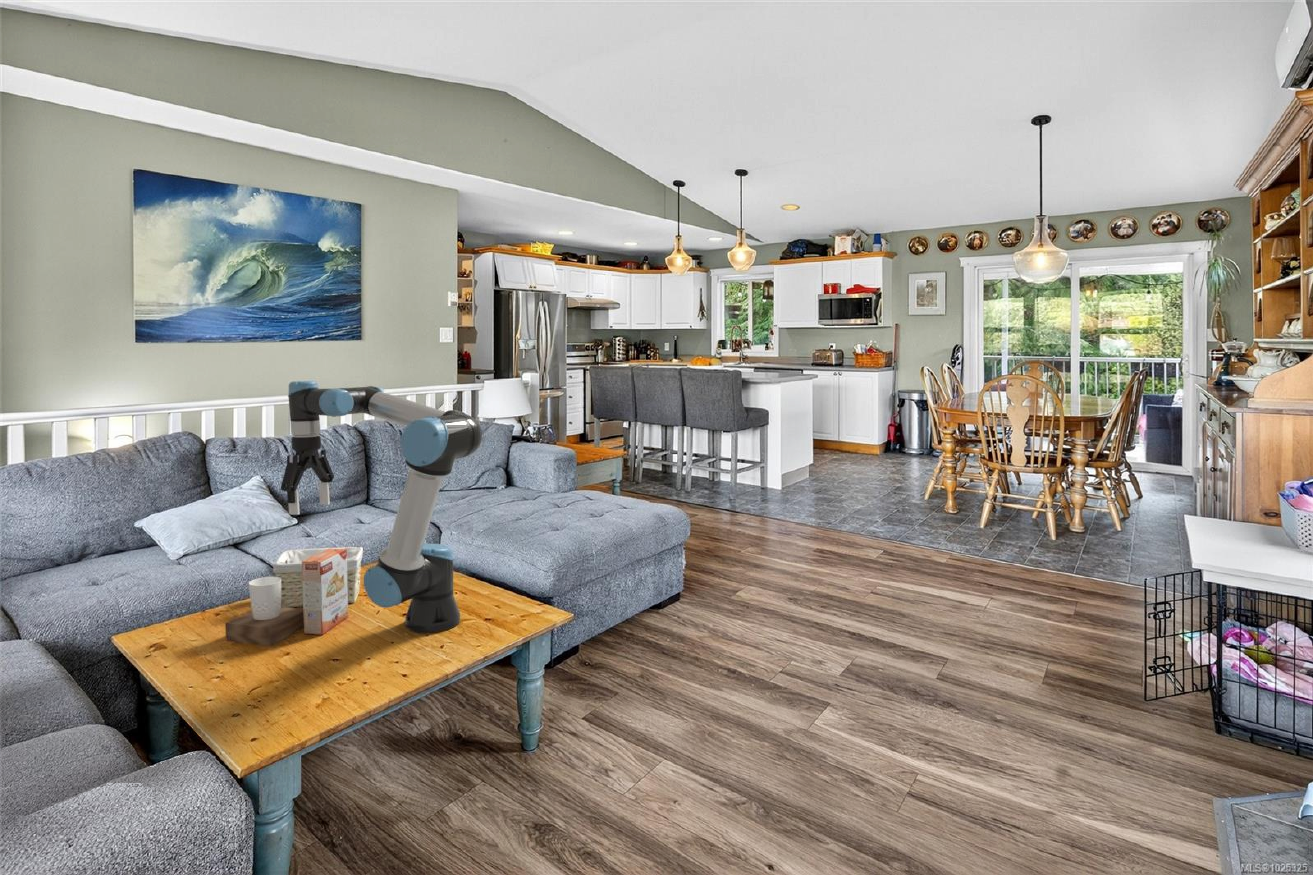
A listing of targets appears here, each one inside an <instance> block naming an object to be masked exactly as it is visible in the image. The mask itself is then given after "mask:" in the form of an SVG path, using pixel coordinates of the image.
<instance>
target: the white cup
mask: <svg viewBox="0 0 1313 875" xmlns="http://www.w3.org/2000/svg"><path fill="white" fill-rule="evenodd" d="M248 590H249V598H250V599H249V600H250V606H251V611H252V614H253V618H254V619H255V620H269V619H273V618H276V617H278V616H280V614H281V578H279V577H276V576H264V577H263V576H262V577H258V578H253V579H252V580H250V581H249V582H248Z"/></svg>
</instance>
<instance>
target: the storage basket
mask: <svg viewBox="0 0 1313 875" xmlns="http://www.w3.org/2000/svg"><path fill="white" fill-rule="evenodd" d="M330 548H332V549H346V550H347V591H348V604H354V603H356V601H357V599H358V595H359V592H360V588H361V587H360V586H361V572H362V567H361V565H362V564H361V562H362V559H363V555H364V554H363V553H364V552H363V550H364V549H363V547H362V546H360V547H356V546H355V547H354V546H353V547H352V546H350V547H349V546H348V547H347V546H345V547H344V546H343V547H326V548H325V547H323V548H302V549H301V548H300V549H291V550H284V552H283V551H282V553H281V554H280V555H279V557H277V559H276V561H275V563H274V564H273V569H272V570H273V573H274V575H275V577H279V578H281V607H286V608H295V607H296V608H299V607H303V582H302V561H304V560H306V559H308V558H310V557H312V556H315V555H317V554H319V553H321V552H323V551H325V550H327V549H330Z"/></svg>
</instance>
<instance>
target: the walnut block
mask: <svg viewBox="0 0 1313 875" xmlns="http://www.w3.org/2000/svg"><path fill="white" fill-rule="evenodd" d="M224 626H225V627H224V628H225V641H226V642H233V643H240V644H241V643H242V644H249V645H258V646H259V645H260V646H265V647H266V646H268V647H272V646H274V645H276V644H278V643H280V642H282V641H284V640H285V639H287V638H289V637H290V636H293V635H294V634H296V633H298V632H300V631H301V630H304V614H303V608H297V607H296V608H295V607H289V608H286V607H281V614H280V616H278V617H276V618H273V619H269V620H255V619H254V618H253V614H252V610H251V611H248V612H246V613H244V614H241V615H240V616H237V617H235V618H233V619H231V620H228V621H226V622H225V623H224Z"/></svg>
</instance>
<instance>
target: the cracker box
mask: <svg viewBox="0 0 1313 875" xmlns="http://www.w3.org/2000/svg"><path fill="white" fill-rule="evenodd" d="M329 548H330V549H327V550H325V551H323V552H321V553H319V554H317V555H315V556H312V557H310V558H308V559H306V560H304V561H302V582H303V606H302V607H303V608H302V609H303V614H304V629H303V633H304V635H319V636H321V635H322V636H323V635H324V634H326V633H327V632H329V631H330V630H331V629H334V627H336V626H337V625H338V624H340V623H342V622H343V621H344V620H346V619H347V618H349V603H348V591H347V550H346V549H332V548H333V547H329Z"/></svg>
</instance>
